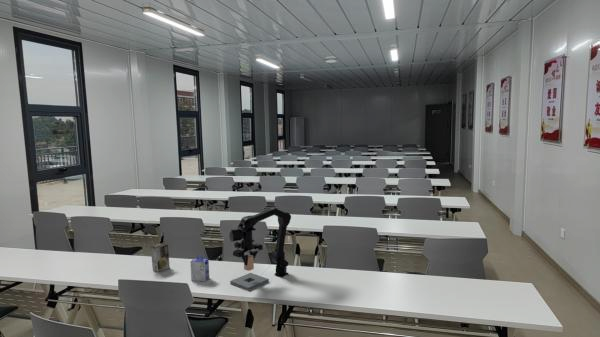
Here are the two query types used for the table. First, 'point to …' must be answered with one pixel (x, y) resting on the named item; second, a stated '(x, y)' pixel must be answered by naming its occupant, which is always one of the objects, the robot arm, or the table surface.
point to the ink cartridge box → (199, 269)
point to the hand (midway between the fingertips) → (248, 264)
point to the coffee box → (160, 257)
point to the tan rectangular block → (249, 263)
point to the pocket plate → (254, 283)
